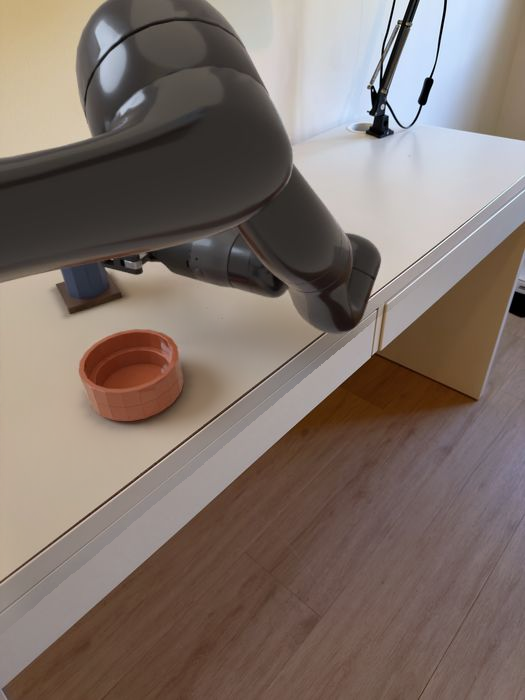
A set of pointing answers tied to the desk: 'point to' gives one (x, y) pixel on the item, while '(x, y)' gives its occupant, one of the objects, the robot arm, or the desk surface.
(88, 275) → the tumbler
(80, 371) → the bowl
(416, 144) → the desk surface
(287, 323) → the desk surface
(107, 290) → the coaster
